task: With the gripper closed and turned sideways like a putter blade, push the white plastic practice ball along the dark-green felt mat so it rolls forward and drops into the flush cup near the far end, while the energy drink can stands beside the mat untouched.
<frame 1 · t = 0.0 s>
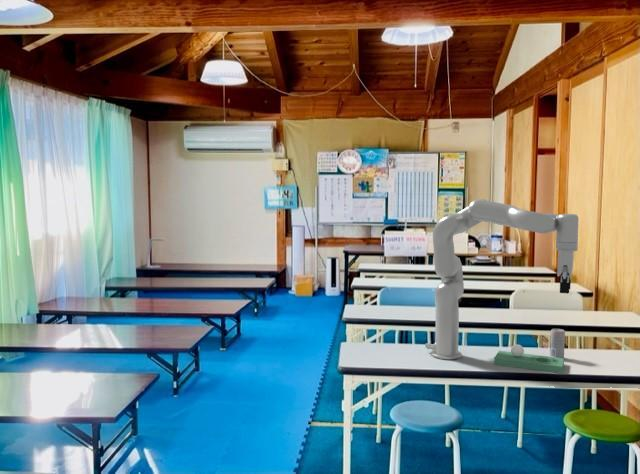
hand: (565, 291, 209), 31 cm above the table, fingers open, 9 cm apart
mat: (528, 364, 220), on the table
ball: (517, 350, 222), point 5 cm above the table, touching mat
energy drink: (556, 358, 228), on the table
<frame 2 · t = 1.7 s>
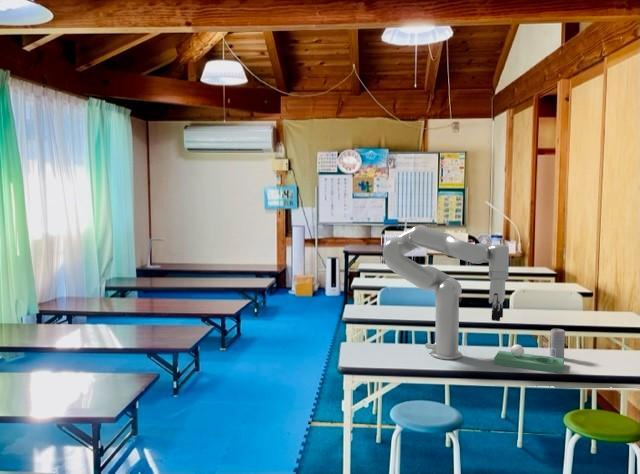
hand: (497, 318, 223), 18 cm above the table, fingers open, 6 cm apart
nothing on the table moved.
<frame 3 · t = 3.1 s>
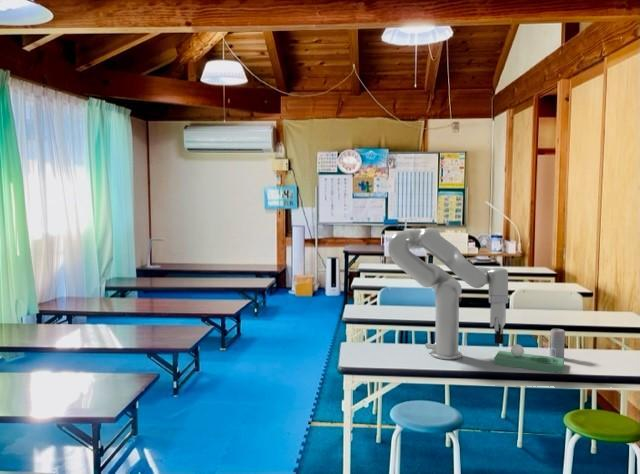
hand: (499, 343, 224), 7 cm above the table, fingers closed
nothing on the table moved.
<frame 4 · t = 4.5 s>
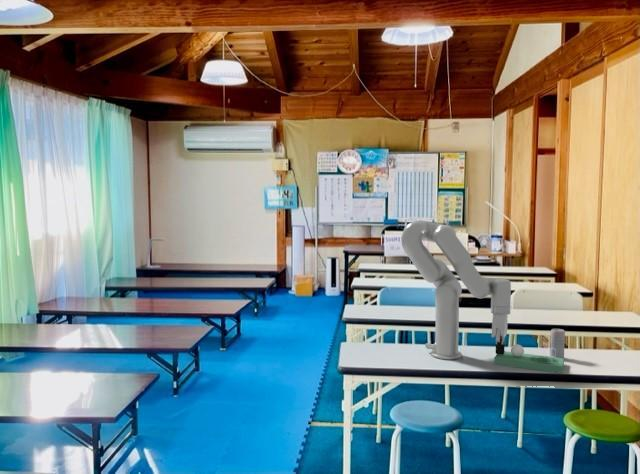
hand: (499, 353, 224), 3 cm above the table, fingers closed
nothing on the table moved.
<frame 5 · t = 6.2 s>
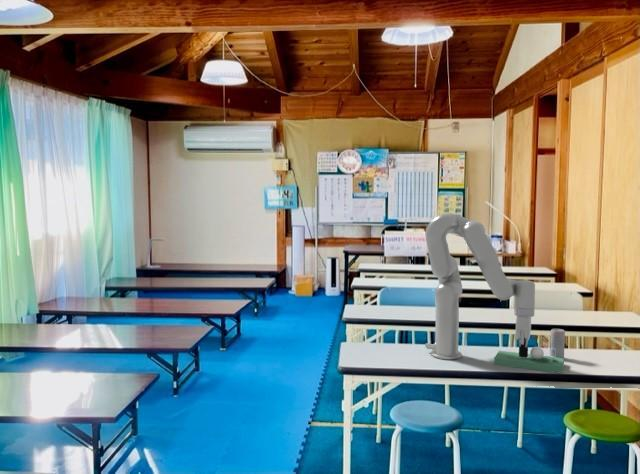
hand: (523, 356, 220), 3 cm above the table, fingers closed
ball: (536, 353, 219), point 5 cm above the table, tilted 168°, touching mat
everything else where it was.
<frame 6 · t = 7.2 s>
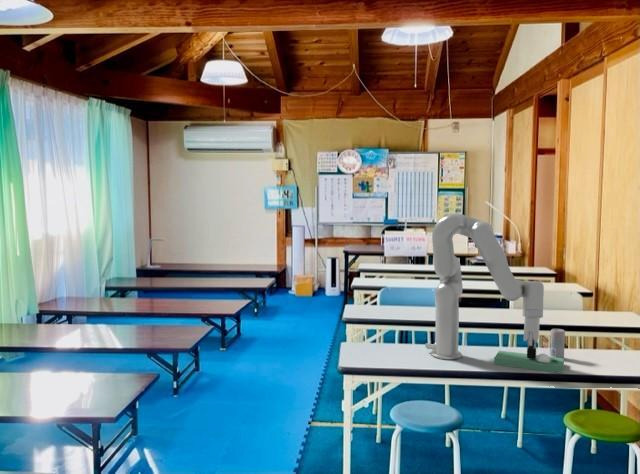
hand: (531, 357, 219), 3 cm above the table, fingers closed
ball: (543, 360, 217), point 3 cm above the table, tilted 115°, touching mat
everything else where it was.
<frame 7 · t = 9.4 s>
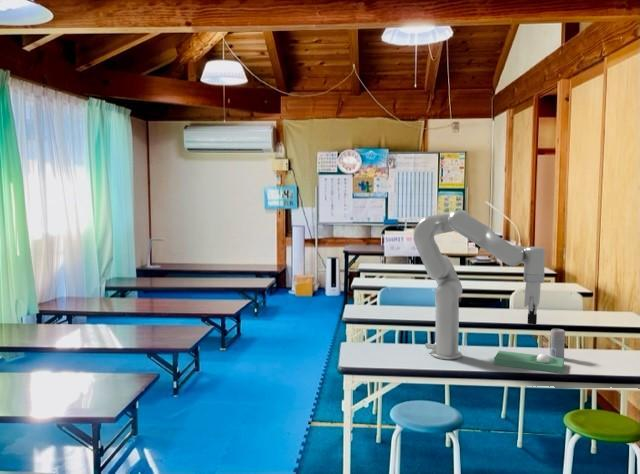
hand: (531, 323, 218), 17 cm above the table, fingers closed
nothing on the table moved.
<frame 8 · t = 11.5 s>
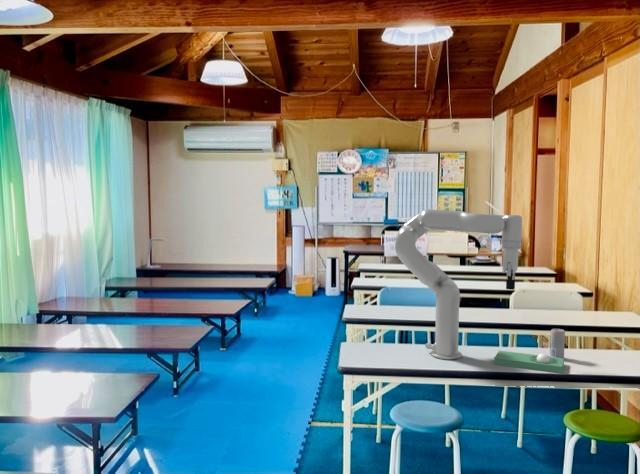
hand: (510, 289, 226), 29 cm above the table, fingers closed
nothing on the table moved.
at the end: ball 0.5 cm from the target spot on the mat, point 2.7 cm above the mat's base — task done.
